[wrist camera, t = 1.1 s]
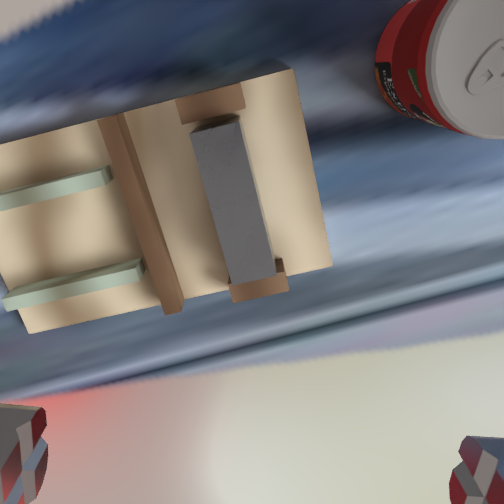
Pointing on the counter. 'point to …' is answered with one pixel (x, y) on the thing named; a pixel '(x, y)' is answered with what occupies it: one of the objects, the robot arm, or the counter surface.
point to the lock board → (150, 207)
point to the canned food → (446, 64)
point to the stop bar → (234, 199)
